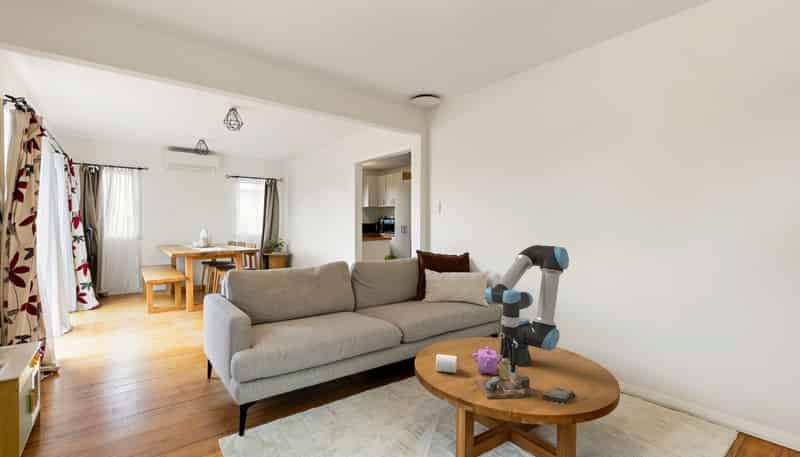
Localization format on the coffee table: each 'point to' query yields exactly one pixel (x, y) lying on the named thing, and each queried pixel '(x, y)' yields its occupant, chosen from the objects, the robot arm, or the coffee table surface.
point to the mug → (446, 363)
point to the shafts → (493, 383)
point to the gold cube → (506, 369)
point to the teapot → (487, 361)
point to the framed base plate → (505, 389)
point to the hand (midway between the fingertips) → (508, 375)
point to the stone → (558, 395)
